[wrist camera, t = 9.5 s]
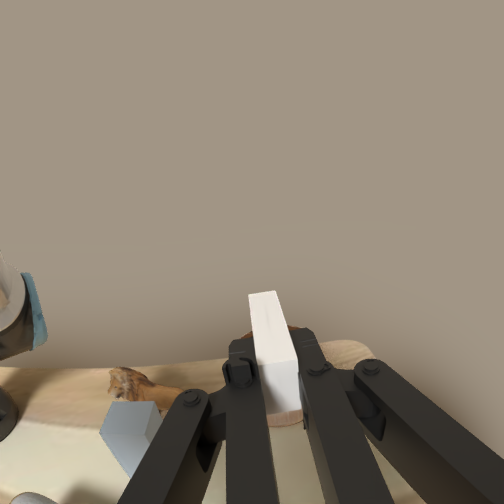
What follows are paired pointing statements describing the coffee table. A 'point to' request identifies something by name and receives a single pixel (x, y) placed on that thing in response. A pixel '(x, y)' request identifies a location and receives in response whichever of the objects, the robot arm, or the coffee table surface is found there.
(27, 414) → the coffee table surface
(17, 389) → the coffee table surface
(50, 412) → the coffee table surface
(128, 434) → the slate block
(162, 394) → the lion figurine
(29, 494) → the ceramic mug
